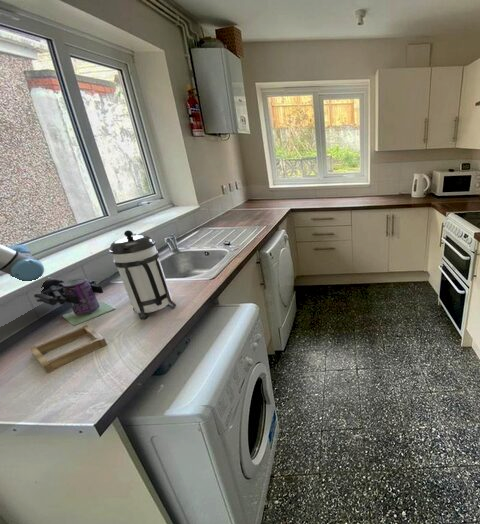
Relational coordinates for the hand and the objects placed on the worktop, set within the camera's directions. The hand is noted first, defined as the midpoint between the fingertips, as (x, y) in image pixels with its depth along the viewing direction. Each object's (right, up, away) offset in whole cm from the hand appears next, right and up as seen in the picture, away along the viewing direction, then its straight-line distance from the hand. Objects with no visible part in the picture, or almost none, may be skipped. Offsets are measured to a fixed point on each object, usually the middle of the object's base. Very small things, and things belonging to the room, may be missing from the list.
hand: (89, 294), depth 100 cm
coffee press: (+21, -6, +5) cm, 22 cm away
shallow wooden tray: (+8, -15, -15) cm, 23 cm away
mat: (-4, -7, +5) cm, 10 cm away
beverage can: (-4, -7, +4) cm, 9 cm away
